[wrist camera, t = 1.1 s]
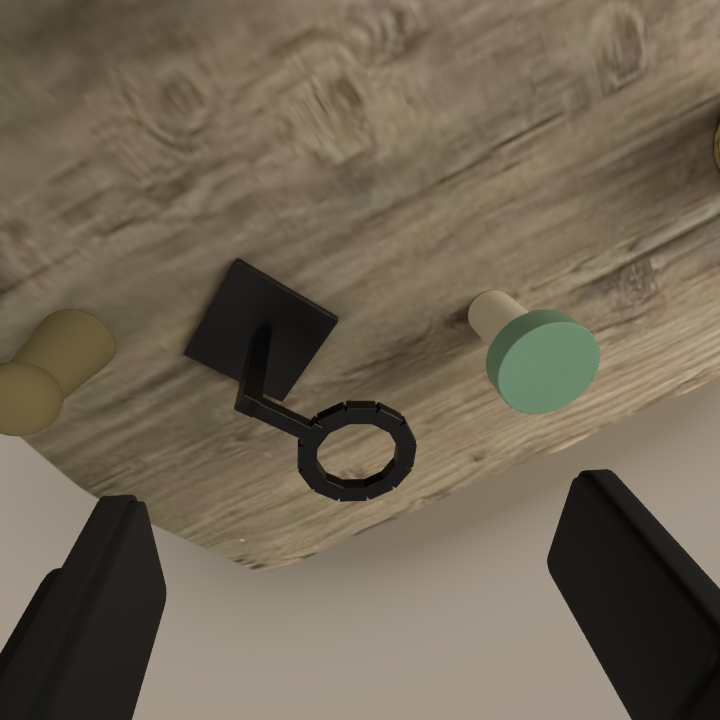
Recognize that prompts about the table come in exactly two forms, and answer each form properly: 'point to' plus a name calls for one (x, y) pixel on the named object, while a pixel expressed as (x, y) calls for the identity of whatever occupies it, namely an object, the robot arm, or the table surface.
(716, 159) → the wooden mug
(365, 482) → the holder
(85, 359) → the tan pawn
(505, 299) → the canister
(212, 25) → the table surface
